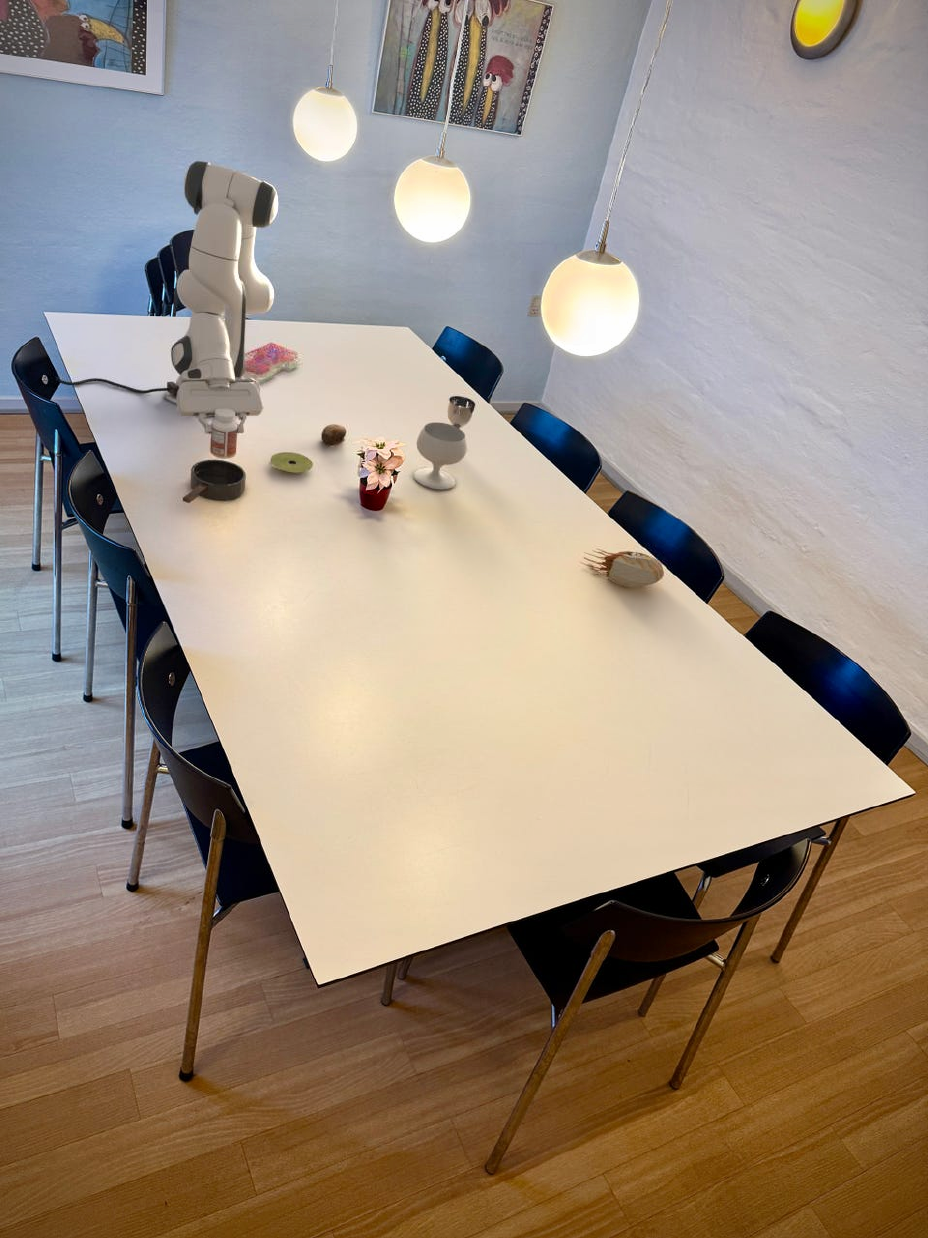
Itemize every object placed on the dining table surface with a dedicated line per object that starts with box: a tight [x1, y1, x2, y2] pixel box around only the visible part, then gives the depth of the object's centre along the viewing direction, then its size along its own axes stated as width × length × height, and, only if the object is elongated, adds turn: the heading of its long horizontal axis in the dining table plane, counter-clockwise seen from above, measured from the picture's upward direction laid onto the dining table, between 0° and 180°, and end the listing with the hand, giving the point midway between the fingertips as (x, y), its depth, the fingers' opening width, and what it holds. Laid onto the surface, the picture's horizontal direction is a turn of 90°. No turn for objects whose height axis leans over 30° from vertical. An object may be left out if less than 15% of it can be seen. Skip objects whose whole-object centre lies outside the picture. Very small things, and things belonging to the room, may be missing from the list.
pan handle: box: [182, 483, 208, 504], centre depth 212 cm, size 2×9×1 cm, turn 165°
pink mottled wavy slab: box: [244, 342, 303, 385], centre depth 288 cm, size 30×15×5 cm, turn 158°
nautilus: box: [579, 548, 665, 589], centre depth 228 cm, size 8×22×15 cm
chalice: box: [413, 421, 468, 490], centre depth 247 cm, size 14×14×15 cm
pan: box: [190, 459, 247, 502], centre depth 222 cm, size 13×13×4 cm
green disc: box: [270, 451, 314, 473], centre depth 239 cm, size 11×11×2 cm
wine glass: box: [447, 395, 476, 430], centre depth 267 cm, size 8×8×15 cm
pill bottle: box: [209, 409, 238, 460], centre depth 214 cm, size 6×6×11 cm
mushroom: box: [320, 423, 347, 447], centre depth 255 cm, size 8×8×6 cm
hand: (224, 432), depth 214 cm, fingers closed on pill bottle, 6 cm apart
